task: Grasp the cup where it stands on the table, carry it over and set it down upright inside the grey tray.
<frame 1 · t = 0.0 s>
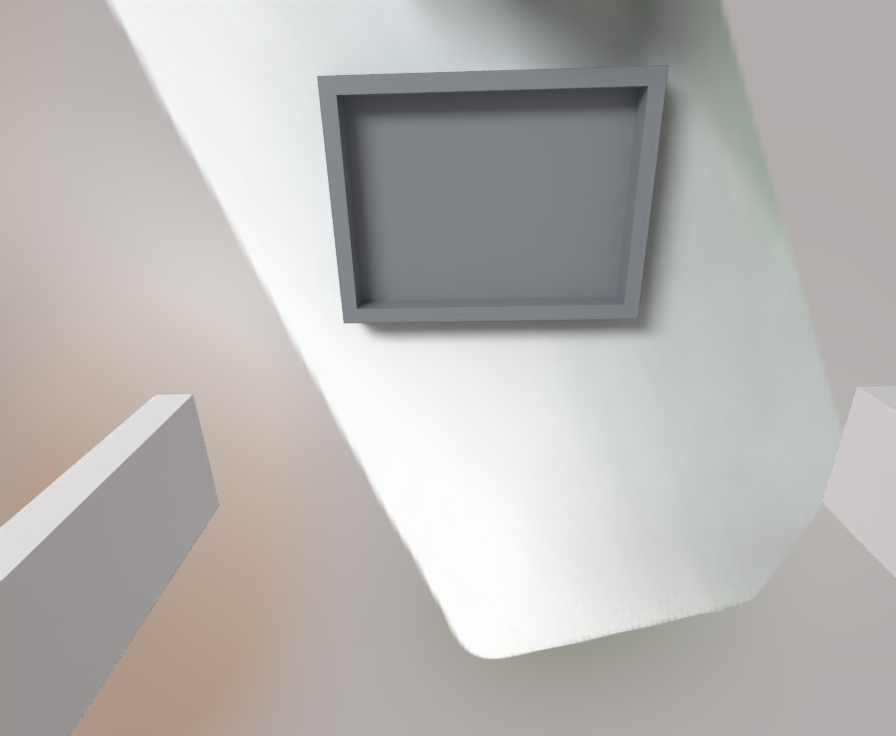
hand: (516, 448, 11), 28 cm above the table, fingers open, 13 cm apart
grey tray: (488, 202, 36), on the table
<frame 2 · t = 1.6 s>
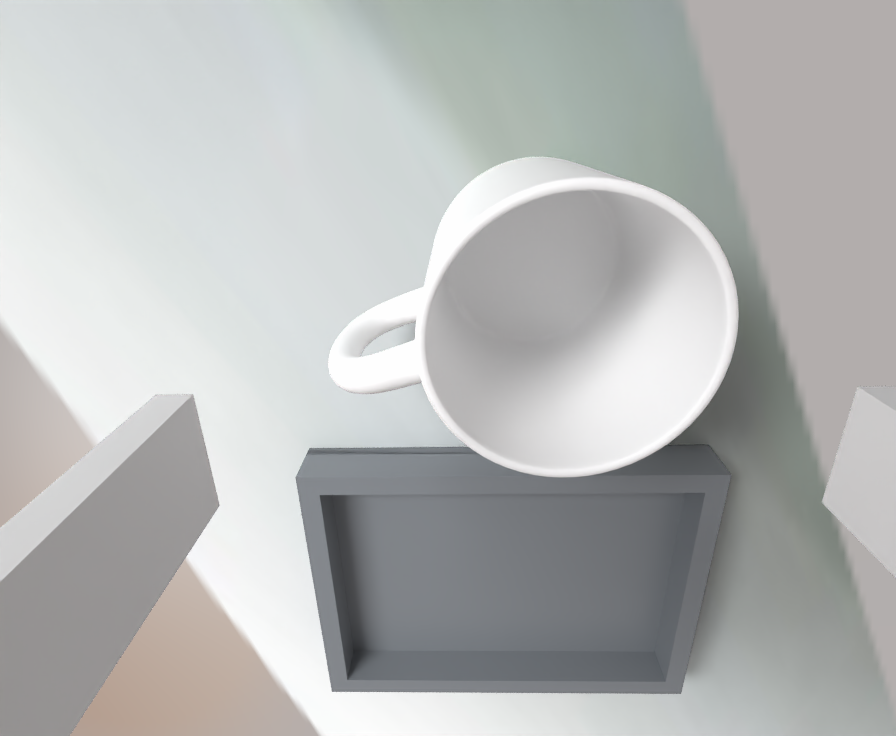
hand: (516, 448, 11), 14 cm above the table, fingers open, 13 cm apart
grey tray: (504, 560, 30), on the table
cup: (487, 269, 24), on the table
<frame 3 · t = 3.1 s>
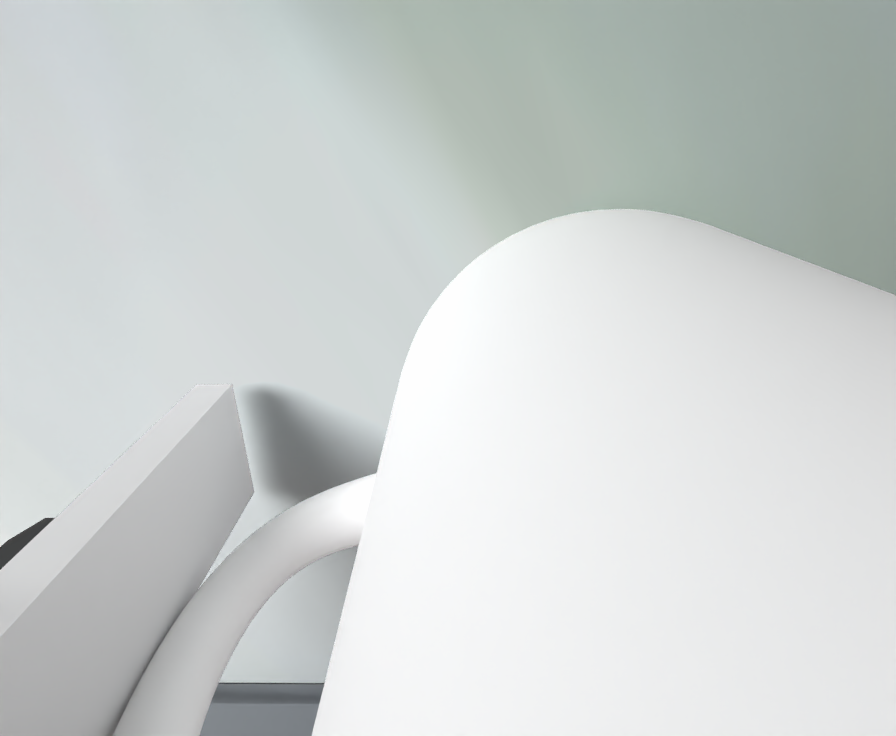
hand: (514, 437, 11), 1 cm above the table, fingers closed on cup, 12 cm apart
cup: (506, 411, 12), on the table, touching gripper
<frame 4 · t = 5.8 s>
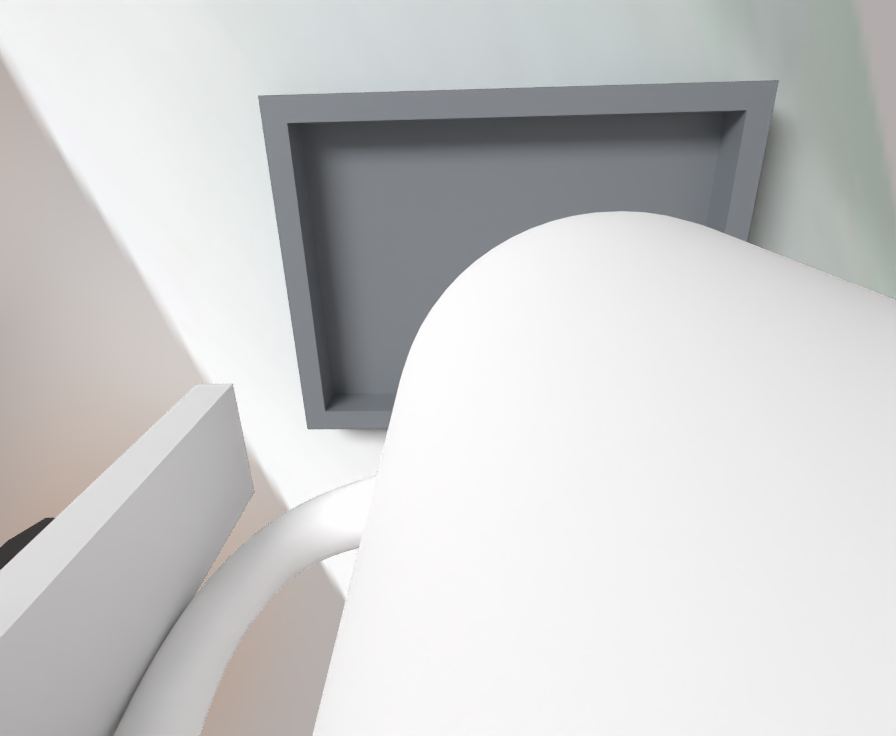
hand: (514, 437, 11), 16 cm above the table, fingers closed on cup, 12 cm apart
grey tray: (506, 266, 26), on the table
cup: (506, 413, 12), point 15 cm above the table, touching gripper
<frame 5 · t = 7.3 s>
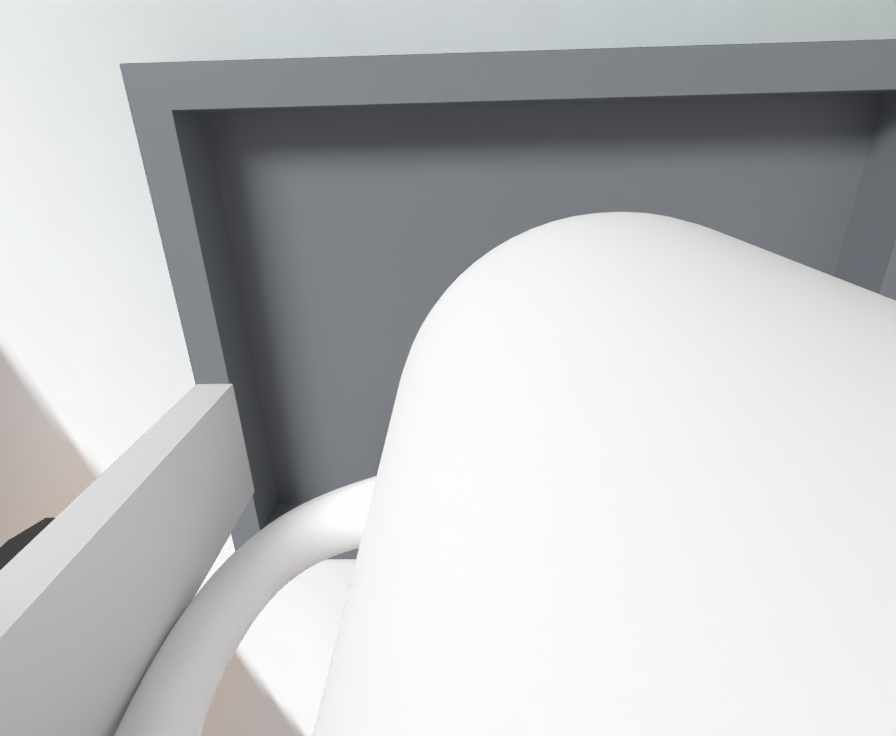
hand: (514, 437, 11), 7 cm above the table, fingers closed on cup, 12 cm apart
grey tray: (527, 325, 18), on the table
cup: (506, 413, 12), point 6 cm above the table, touching gripper
when the fingers open (3 cm above the table, at t = 8.7 s): cup drops 2 cm, resting on grey tray.
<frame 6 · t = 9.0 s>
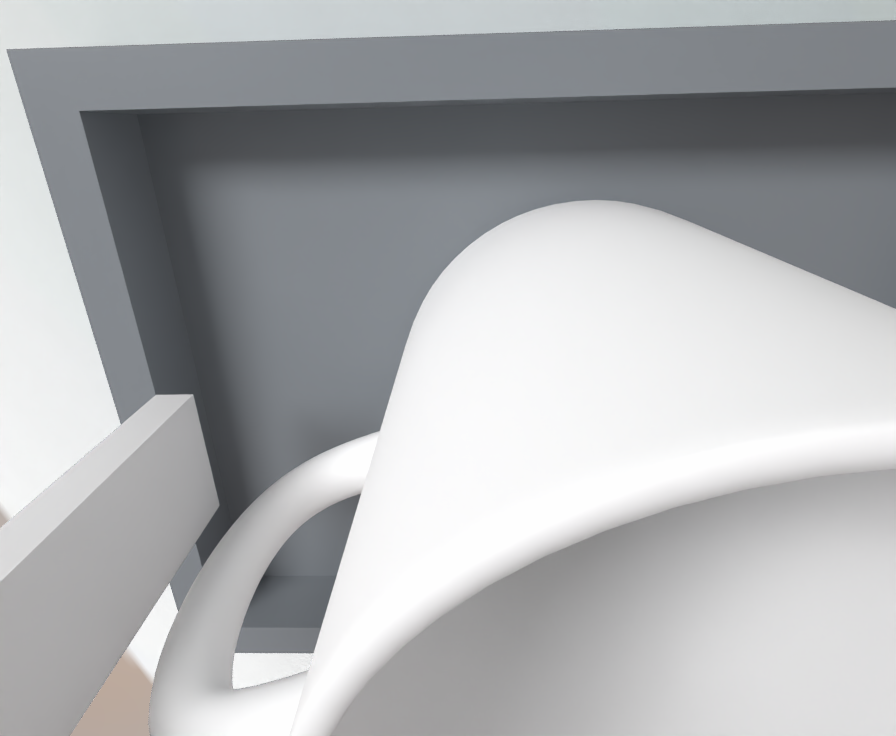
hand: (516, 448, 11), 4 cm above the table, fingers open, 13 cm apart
grey tray: (541, 373, 14), on the table
cup: (499, 380, 14), resting on grey tray
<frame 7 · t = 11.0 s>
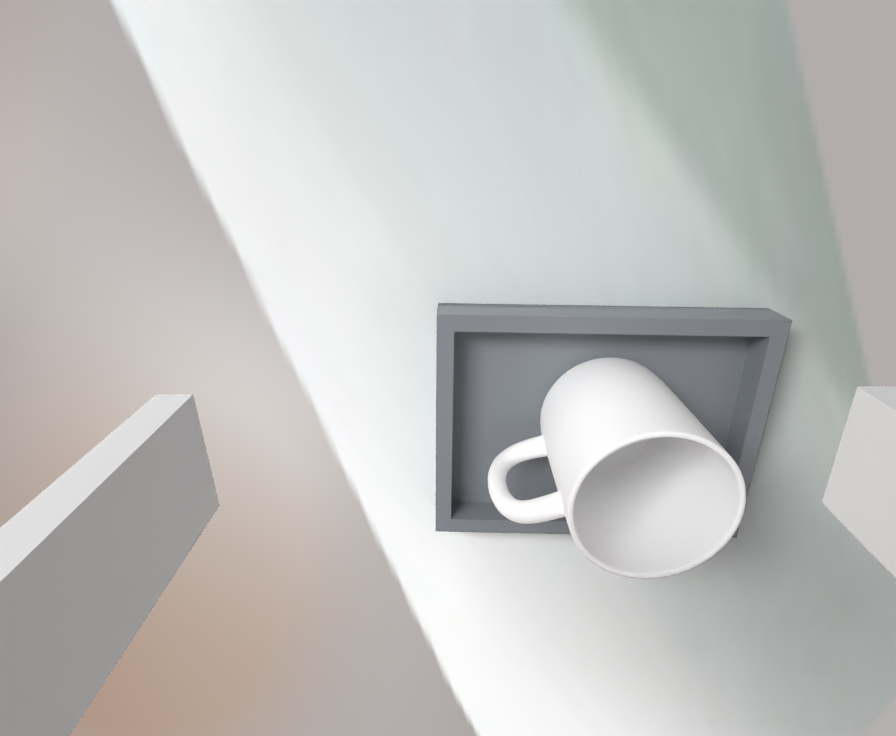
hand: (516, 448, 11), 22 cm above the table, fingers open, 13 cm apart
grey tray: (589, 416, 35), on the table
cup: (573, 418, 35), resting on grey tray
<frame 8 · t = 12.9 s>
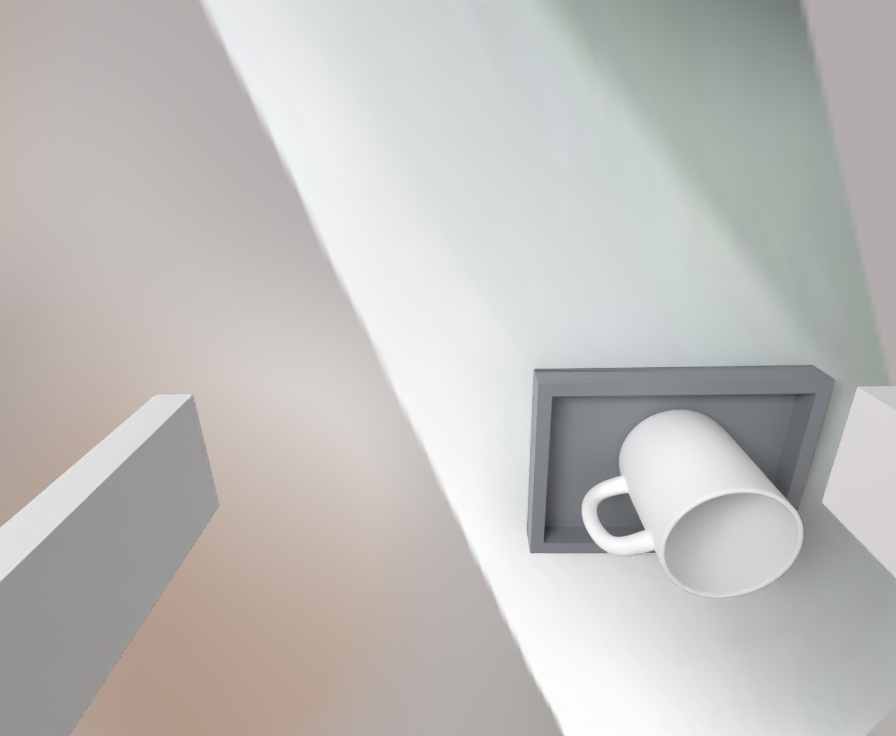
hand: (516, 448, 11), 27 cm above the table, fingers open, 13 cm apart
grey tray: (658, 455, 42), on the table
cup: (645, 458, 42), resting on grey tray
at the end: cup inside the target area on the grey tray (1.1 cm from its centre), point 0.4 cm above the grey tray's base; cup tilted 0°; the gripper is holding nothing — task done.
